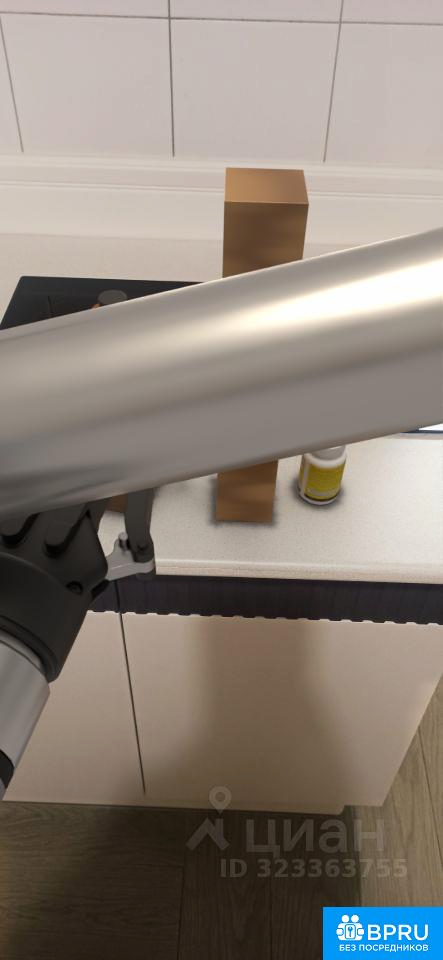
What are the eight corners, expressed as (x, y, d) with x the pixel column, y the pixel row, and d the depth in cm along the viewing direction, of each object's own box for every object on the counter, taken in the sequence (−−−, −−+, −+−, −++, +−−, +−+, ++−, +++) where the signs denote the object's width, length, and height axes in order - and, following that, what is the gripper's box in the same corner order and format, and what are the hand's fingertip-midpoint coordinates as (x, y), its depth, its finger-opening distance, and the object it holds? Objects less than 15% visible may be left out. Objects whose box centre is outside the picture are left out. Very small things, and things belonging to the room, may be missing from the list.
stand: (269, 482, 76) (303, 169, 51) (271, 522, 72) (309, 203, 47) (217, 480, 76) (225, 166, 51) (216, 520, 72) (224, 200, 47)
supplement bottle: (347, 496, 75) (360, 441, 69) (313, 511, 73) (323, 457, 67) (321, 469, 78) (332, 415, 72) (288, 484, 76) (296, 429, 70)
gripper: (-111, 663, 36) (64, 395, 52) (117, 721, 34) (226, 424, 50) (-167, 583, 31) (48, 311, 46) (100, 647, 29) (229, 340, 44)
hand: (140, 370), depth 48 cm, fingers closed
